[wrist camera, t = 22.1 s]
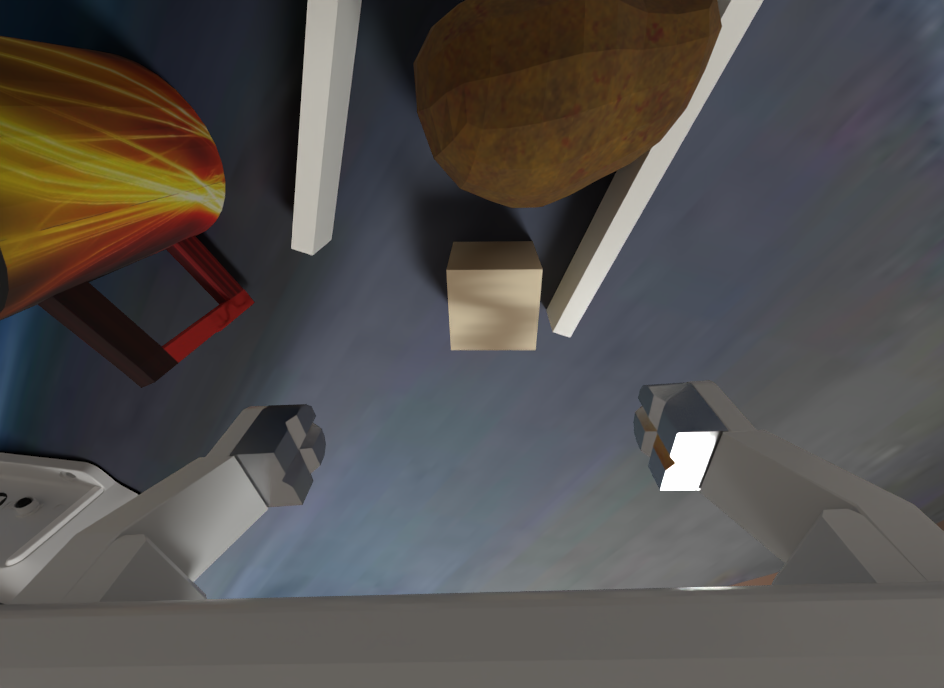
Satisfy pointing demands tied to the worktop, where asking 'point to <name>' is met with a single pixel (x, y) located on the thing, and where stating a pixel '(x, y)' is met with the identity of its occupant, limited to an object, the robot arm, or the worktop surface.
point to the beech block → (493, 295)
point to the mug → (104, 196)
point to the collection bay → (324, 133)
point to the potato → (556, 89)
